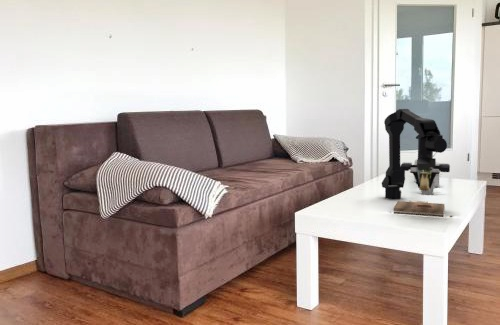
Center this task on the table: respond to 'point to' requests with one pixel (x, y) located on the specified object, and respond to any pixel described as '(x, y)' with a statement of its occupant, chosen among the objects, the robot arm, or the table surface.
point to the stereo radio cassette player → (430, 172)
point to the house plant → (431, 186)
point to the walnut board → (419, 208)
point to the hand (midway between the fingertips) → (424, 187)
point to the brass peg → (424, 181)
